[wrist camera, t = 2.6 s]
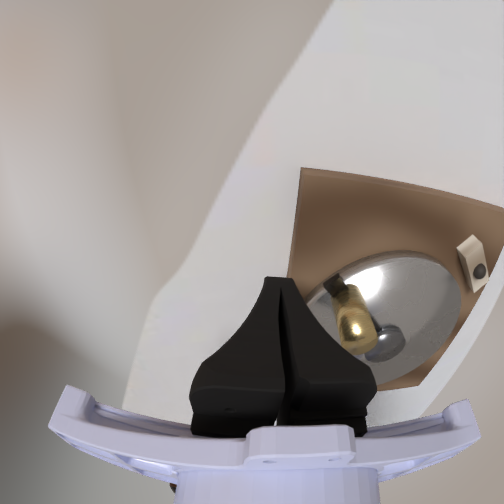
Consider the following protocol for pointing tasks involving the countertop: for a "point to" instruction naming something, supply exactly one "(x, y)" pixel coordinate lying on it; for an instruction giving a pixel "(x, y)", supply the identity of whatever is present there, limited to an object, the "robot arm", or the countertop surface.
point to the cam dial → (389, 310)
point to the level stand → (392, 236)
